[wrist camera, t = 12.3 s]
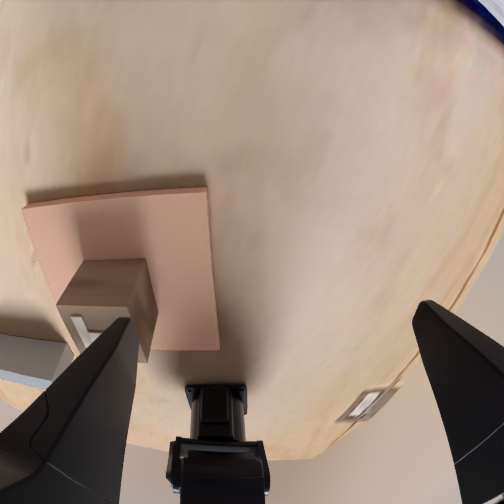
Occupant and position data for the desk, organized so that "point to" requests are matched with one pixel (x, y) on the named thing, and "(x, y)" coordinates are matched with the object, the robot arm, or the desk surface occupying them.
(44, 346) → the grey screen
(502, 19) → the ink cartridge box
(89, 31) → the desk surface
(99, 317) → the walnut cube
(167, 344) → the mat
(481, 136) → the desk surface
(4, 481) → the robot arm
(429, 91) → the desk surface
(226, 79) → the desk surface
